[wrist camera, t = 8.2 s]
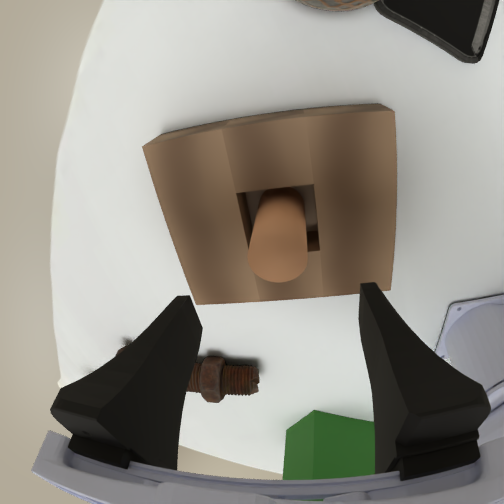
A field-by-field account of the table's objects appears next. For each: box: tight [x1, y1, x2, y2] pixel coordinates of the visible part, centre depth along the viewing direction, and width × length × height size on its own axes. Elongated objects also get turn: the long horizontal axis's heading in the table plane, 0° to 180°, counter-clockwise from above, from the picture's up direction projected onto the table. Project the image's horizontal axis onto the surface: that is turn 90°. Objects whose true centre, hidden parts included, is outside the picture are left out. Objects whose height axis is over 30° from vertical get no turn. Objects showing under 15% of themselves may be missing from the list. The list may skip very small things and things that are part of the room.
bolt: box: [115, 346, 259, 403], centre depth 31 cm, size 6×5×15 cm
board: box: [142, 104, 397, 305], centre depth 20 cm, size 14×12×3 cm
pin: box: [247, 187, 308, 283], centre depth 18 cm, size 3×3×6 cm
